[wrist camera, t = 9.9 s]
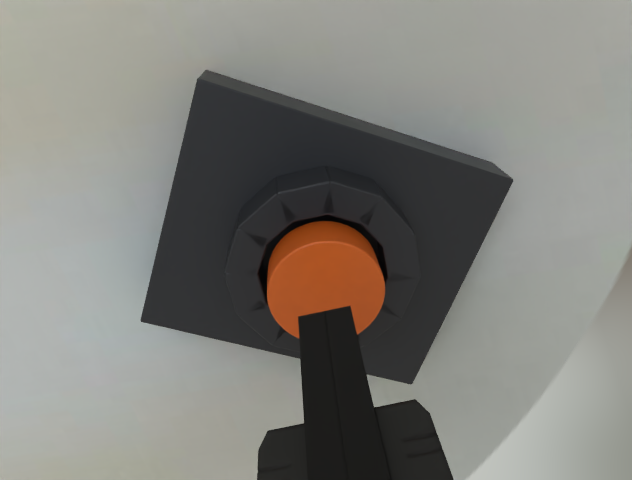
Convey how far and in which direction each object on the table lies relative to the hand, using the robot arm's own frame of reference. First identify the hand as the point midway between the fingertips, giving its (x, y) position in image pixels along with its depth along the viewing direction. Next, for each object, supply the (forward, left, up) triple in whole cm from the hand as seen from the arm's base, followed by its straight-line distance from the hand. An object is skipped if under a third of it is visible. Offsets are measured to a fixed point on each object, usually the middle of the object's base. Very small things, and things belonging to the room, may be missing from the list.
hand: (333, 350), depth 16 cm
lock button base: (0, 0, -8) cm, 8 cm away
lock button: (0, 0, -5) cm, 5 cm away
